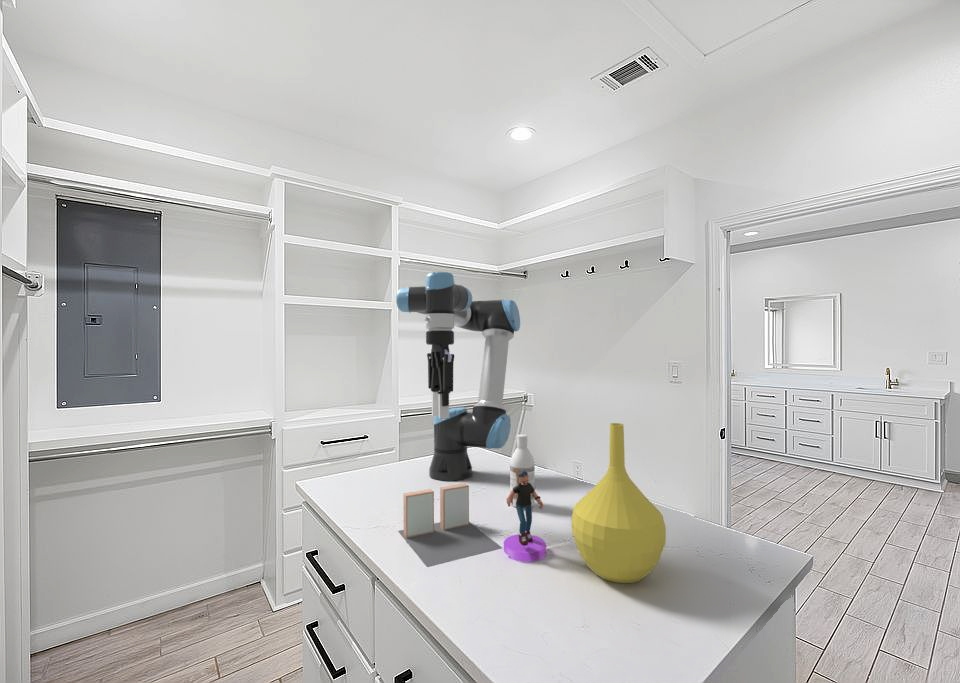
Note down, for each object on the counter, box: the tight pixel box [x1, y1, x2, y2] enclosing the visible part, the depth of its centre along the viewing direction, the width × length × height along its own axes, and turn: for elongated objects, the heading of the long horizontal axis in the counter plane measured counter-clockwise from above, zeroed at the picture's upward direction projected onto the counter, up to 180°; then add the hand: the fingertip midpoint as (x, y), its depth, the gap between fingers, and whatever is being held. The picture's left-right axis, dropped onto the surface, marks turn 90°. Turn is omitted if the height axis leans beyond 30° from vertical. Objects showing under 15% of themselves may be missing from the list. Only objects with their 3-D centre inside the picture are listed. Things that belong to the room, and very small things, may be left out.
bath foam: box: [509, 433, 536, 510], centre depth 128 cm, size 7×7×20 cm
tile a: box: [439, 482, 470, 530], centre depth 113 cm, size 7×2×10 cm, turn 118°
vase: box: [571, 422, 667, 584], centre depth 91 cm, size 18×18×30 cm
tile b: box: [402, 488, 435, 538], centre depth 108 cm, size 7×2×10 cm, turn 118°
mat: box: [397, 521, 503, 568], centre depth 105 cm, size 18×20×1 cm
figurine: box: [503, 471, 547, 563], centre depth 100 cm, size 9×9×18 cm
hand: (440, 416), depth 121 cm, fingers open, 4 cm apart
